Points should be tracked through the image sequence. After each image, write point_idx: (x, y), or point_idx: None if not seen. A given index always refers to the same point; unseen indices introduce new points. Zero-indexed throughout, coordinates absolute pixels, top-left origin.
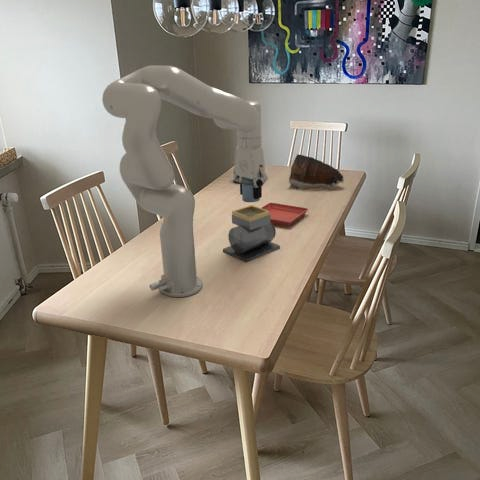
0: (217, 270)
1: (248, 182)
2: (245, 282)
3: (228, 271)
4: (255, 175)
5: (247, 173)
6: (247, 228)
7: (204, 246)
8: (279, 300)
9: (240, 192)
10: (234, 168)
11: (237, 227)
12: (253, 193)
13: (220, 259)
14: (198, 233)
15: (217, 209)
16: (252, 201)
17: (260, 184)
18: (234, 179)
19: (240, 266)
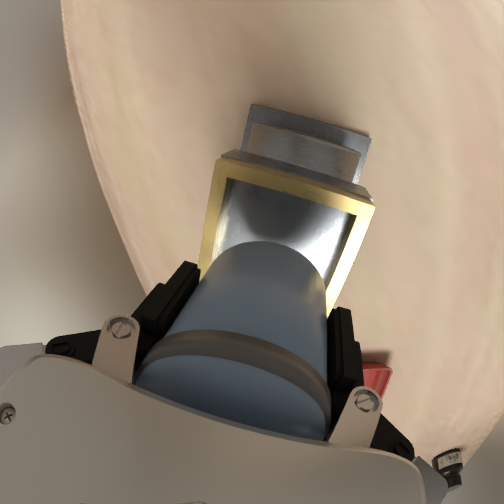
0: (296, 19)
1: (179, 357)
2: (182, 17)
3: (262, 31)
4: (8, 380)
5: (113, 453)
6: (252, 154)
7: (440, 149)
8: (88, 25)
9: (348, 318)
10: (461, 469)
11: (309, 150)
12: (179, 287)
13: (339, 82)
14: (491, 230)
15: (478, 369)
16: (218, 256)
17: (72, 335)
18: (459, 453)
19: (251, 74)
